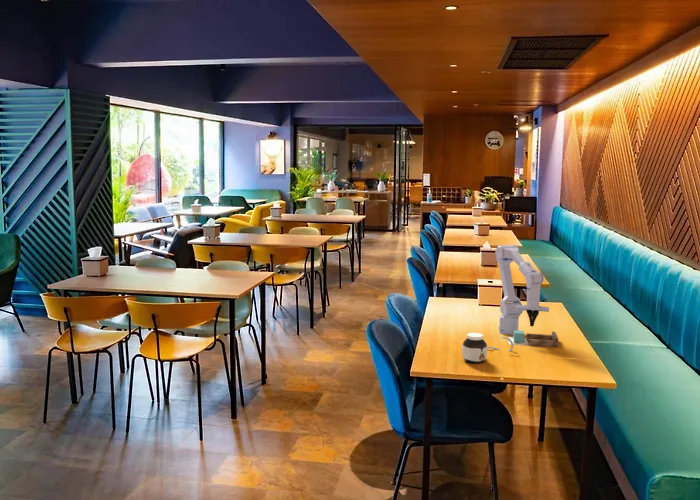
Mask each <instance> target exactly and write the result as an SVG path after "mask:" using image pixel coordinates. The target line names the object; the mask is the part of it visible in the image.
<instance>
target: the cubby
mask: <svg viewBox="0 0 700 500" xmlns="http://www.w3.org/2000/svg"><path fill="white" fill-rule="evenodd" d="M506 338H509V339H510V340H511V341H512V342H513V346H514V345H515V346H531V347H546V348H559V337H558V334H557V333H556V331H551V334H544V333H543V334H542V333H540V334H539V333H528V332H527V333H526V337H524V343H518V342H514V340H513V336H507V337H506ZM507 343H508V345H511V342H510V341H509V340H507Z"/></svg>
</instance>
